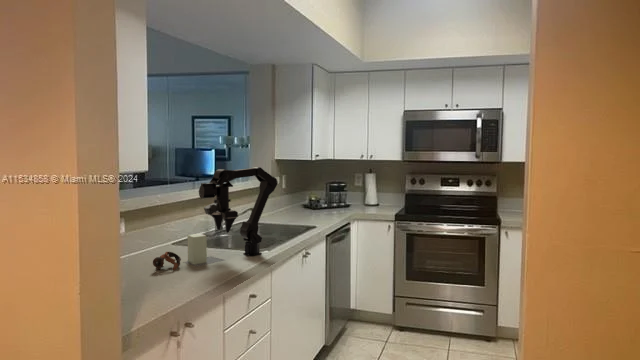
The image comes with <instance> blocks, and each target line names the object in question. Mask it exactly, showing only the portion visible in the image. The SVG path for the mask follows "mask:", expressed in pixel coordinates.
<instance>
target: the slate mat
mask: <svg viewBox="0 0 640 360" xmlns="http://www.w3.org/2000/svg"><path fill="white" fill-rule="evenodd" d="M223 261H225V259H223V258H219V257H216V256H215V257H214V256H211V255H210V256H207V262H206V263H200V264H192V263H190V262H188V260H187V261H183V262H182V263H184V264H188V265H190V266H193V267H194V266H195V267H202V266H206V265H211V264H215V263H219V262H223Z"/></svg>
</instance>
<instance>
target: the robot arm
mask: <svg viewBox="0 0 640 360" xmlns="http://www.w3.org/2000/svg"><path fill="white" fill-rule="evenodd" d="M249 177H255V178H256V180H257V181H258V182H259V186H258V187H259V193H258V195H257V198H256V199H255V200H256V201H255V203H254V206H253V207H252V210H251V213H250V215H249V218H248V220H247V221H242V224H241V225H240V227H239V234H240V236H241V237H242V240H243V242H244V241H245V242H244V243H245V245H244V252H243V255H244V256H250V257H254V256H258V255H262V254H263V253H262V252H261V251H260V243H262V240H263V238H262V236H261V235H259V222H260V219H261V217H262V214H263V211H264V209H265V207H266V204H267V202H268V199H269V196H270V195H271V194H272V193H273V192H274V191H275V189H276V188H277V185H278V180H277V178H276V177H275V176H272V175H271V174H270V173H269V172H267V171H266V170H264V169H263V167H260V166H254V167H250V168H241V169H221V168H220V169H217V170H215V171H214V174H213V177H212V178H211V180H210V181H209V182H200V186H199V188H198V196H199V198H201V199H213V198H214V199H213V202H212V203H210V204H208V205H206V206H204V207H203V210H204V213H205V215H209V216H210V217H212V218H213V221H214V223H215V227H216V229H217V230H219V231H220V230H221V226H222V222H223V221H224V227H225V228H224V229H225V232H226V233H230V231H231V228H232V226H233V224H234V222H235V220H236V219H237V218H239V213H238V211H237V210H233V209H232V208H231V207H230V202H231V201H232V200H231V199H230V190H229V189H230V188H234V185H233V184H232V183H231V181H234V180H236V179H239V178H241V179H242V178H249Z"/></svg>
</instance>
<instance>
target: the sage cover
mask: <svg viewBox="0 0 640 360" xmlns="http://www.w3.org/2000/svg"><path fill="white" fill-rule="evenodd" d="M186 237H187V238H186V239H187V261H188V262H190V263H192V264H200V263H206V262H207V257H208V256H207V253H208V252H207V250H208V249H207V235H206V234H203V233H194V234H193V233H191V234H187V236H186Z"/></svg>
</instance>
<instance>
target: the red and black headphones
mask: <svg viewBox="0 0 640 360" xmlns="http://www.w3.org/2000/svg"><path fill="white" fill-rule="evenodd" d="M181 260H182V258H181V256H180V255H178V254H176V253H175V252H172V251H165V253H163V254H161V255H160V256H158V257H157V256H156V257H154V258H153V259H152V265H153V267H155V270H161V268H162V267H164V264H165V261H166V262H167V263H170V264H171V265H173V267H172V271H176V270H177V269H178V268H179V267H180V266H181Z"/></svg>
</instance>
